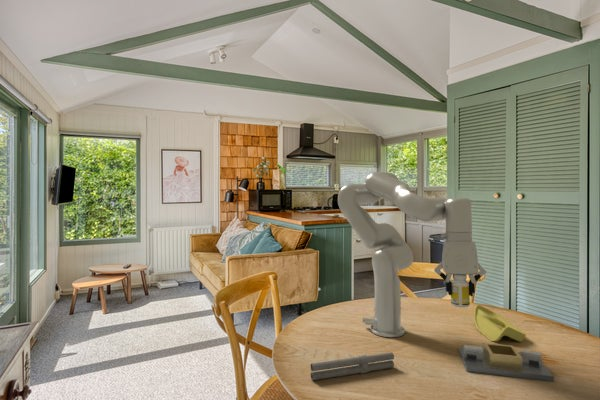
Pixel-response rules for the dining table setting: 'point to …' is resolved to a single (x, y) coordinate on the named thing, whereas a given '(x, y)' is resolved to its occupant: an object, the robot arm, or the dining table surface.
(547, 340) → the dining table surface
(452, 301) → the supplement bottle
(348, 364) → the metal rod assembly
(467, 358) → the stand
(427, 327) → the dining table surface
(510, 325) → the plastic component
